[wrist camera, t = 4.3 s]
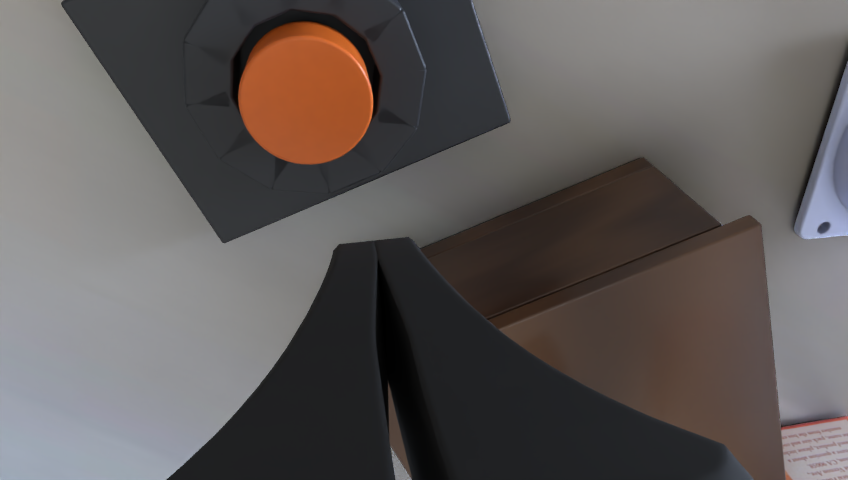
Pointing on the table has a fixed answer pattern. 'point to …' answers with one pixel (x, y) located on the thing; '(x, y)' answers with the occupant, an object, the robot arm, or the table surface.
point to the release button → (305, 93)
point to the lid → (669, 342)
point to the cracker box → (816, 450)
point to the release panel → (222, 70)
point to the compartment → (568, 238)
